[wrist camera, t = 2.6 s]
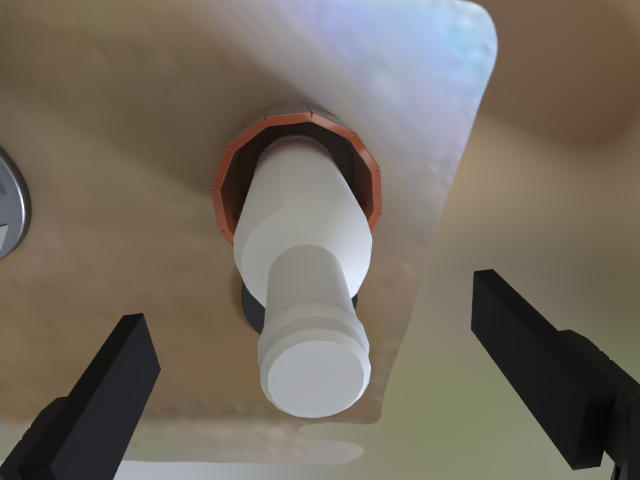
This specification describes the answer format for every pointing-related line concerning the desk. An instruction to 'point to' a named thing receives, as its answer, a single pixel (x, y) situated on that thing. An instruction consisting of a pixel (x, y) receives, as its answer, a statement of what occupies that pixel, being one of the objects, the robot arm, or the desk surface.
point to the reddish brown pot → (364, 165)
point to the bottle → (305, 277)
